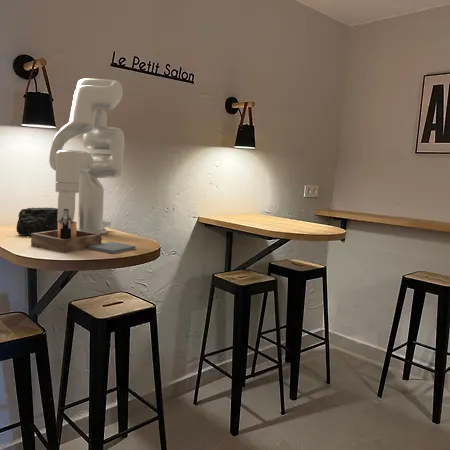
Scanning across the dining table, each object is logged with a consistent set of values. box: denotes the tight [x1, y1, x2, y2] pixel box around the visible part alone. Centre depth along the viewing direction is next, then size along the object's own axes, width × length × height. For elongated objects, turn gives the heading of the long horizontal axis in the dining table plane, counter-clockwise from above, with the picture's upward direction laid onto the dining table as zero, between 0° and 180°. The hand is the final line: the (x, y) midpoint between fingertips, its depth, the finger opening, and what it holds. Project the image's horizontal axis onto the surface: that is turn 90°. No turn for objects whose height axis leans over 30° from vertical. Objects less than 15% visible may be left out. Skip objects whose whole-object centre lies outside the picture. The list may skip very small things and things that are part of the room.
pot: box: [58, 220, 78, 238], centre depth 152 cm, size 6×6×8 cm
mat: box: [87, 241, 137, 255], centre depth 152 cm, size 11×11×1 cm
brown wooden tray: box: [30, 230, 103, 253], centre depth 153 cm, size 16×16×4 cm
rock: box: [15, 207, 62, 236], centre depth 172 cm, size 18×10×15 cm
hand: (66, 238), depth 152 cm, fingers open, 9 cm apart
